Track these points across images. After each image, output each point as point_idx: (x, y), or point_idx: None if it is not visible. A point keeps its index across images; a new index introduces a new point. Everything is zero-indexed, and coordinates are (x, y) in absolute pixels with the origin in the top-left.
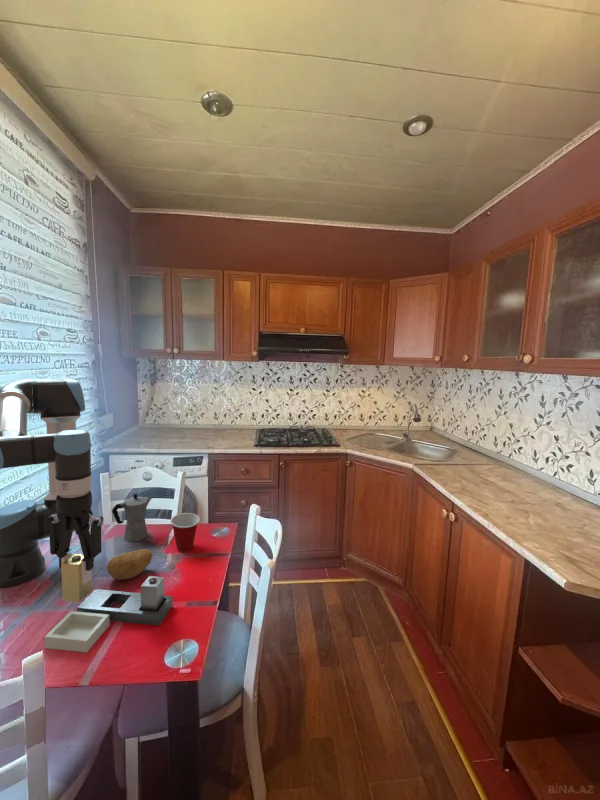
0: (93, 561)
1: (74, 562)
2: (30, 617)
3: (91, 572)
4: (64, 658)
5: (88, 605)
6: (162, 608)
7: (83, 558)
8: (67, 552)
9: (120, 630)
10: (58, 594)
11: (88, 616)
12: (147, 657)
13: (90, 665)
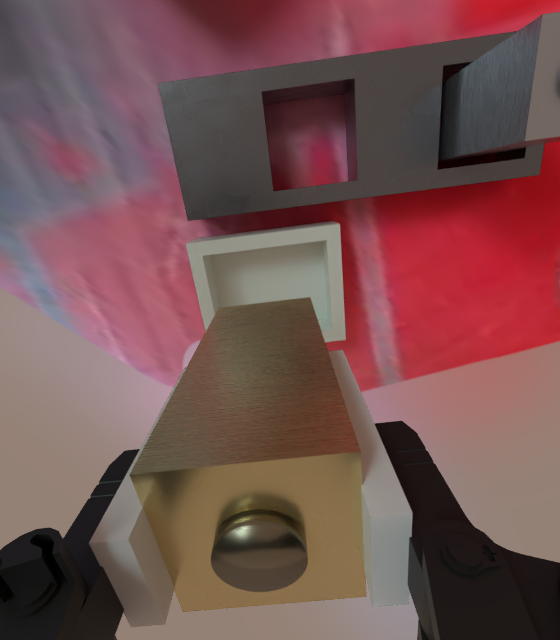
0: (439, 475)
1: (296, 581)
2: (51, 256)
3: (351, 371)
4: None
5: (221, 197)
6: None
7: (418, 638)
8: (84, 580)
9: (382, 231)
10: (2, 118)
11: (268, 247)
12: (513, 300)
13: (375, 353)
